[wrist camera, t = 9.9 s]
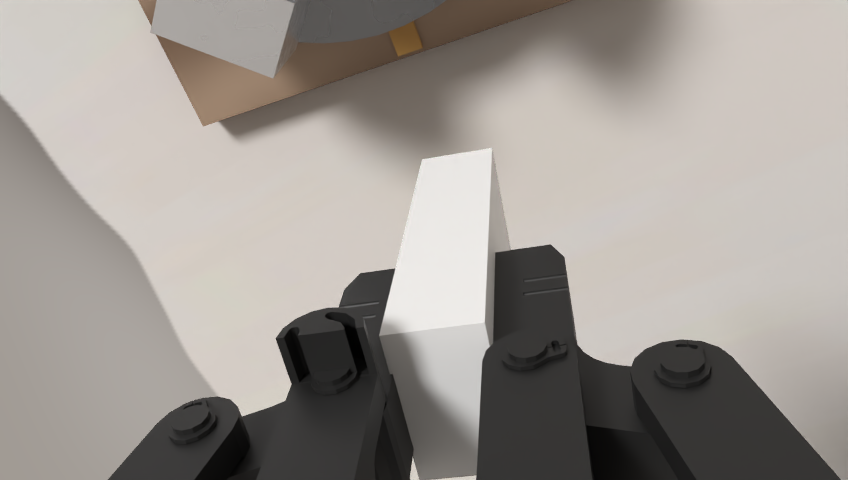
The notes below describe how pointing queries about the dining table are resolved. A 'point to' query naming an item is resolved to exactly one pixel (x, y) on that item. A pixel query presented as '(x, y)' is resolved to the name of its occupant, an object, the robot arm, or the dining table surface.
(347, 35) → the notched metal disc
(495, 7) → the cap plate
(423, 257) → the robot arm
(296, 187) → the dining table surface
